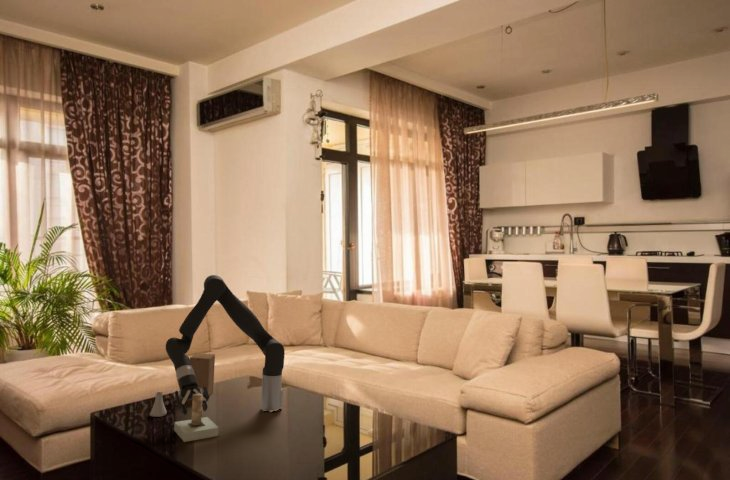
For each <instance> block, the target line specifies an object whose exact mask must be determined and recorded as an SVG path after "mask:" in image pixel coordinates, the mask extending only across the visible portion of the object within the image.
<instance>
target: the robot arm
mask: <svg viewBox="0 0 730 480" xmlns="http://www.w3.org/2000/svg"><path fill="white" fill-rule="evenodd" d="M216 302H218V303H219V304H220V305H221V306H222V308H223V309H224V311H225V312H226V314H227V315H228V316H229V318H230V319H231V321H232V322H233V323H234V324H235V325H236V326H237V328H239V329H240V330H241V332H242V333H244V334H245V335H247V336H248V337H249V338H250V339H251V340H252V341H253V342H254V343H255V344H256V345H257V347H258V348H259V349H260V350H261V351H260V352H262V354H263V355H264V356H265V357H264V358H265V359H264V367H262V376H261V377H262V378H261V381H262V382H261V399H260V400H261V401H260V410H261V409H262V410H266V411H270V410H275V409H278V408H280V407H282V408H283V397H284V396H283V395H284V390H283V389H282V385H283V383H282V378H283V370H284V367H285V365H284V364H285V347H284V345H283V344H282V342H280V341H278V340H277V339H276V338H274V337H273V336H272V335H271V334H270V333H269V332H268V331H267V330H266V329H265V328H264V327H263V325H262V323H261V322H260V320H259V318H258V317H257V316H256V315H255V314H254V313H253V311H252V310H251V309H250V308H249V307H248V306H247V305H246V304H245V303H244V302H243V301H242V300H240V298H238V297H237V296H236V295H235V294H234V293H233V292H232V290H231V289H230V288H229V287H228V285H227V284H226V282H225V281H224V279H223V278H222V277H220V276H219V275H215V274H212V275H208V276H207V277H206V278H205V280H204V281H203V291H202V294H201V295H200V298H199V299H198V301H197V302H196V304H195V305H194V307H193V308H192V309H191V310H190V312H189V313H188V314H187V316H186V317H185V319H184V320H183V322H182V323H181V325H180V327H179V329H178V332H179V333H180V334H181V335H182V336H181V338H178V337H170V338H168V339H167V341H166V343H165V351H166V354H167V355H168V357H169V359H170V361H171V362H172V364H173V367H174V370H175V375H176V381H177V384H178V388H179V391H178V390H175V391H174V393H173V400H174V404H175V407H180V409H181V413H182V414H183V415H184V416H185V415H187V414H188V410H187V406H186V404H185V403H186V401H187V402H188V401H192V399H193V394H200V393H199V392H201V393H203V396H204V397H203V398H202V412H206V411H207V410H208V404H207V402H208V401H209V399H210V396H209V394H208V391H207V389H206V387H203V388H201V389H200V388H199V387H198V384H197V380H196V377H195V373H194V370H193V368H192V365H191V362H190V357H189V356H188V355H187V353H188V352H189V351H190V348H191V345H192V341H193V339H194V336H195V334H196V332H197V331H198V329H199V328H200V326H201V324H202V323H203V320H204V319H205V317H206V316H207V315H208V312H210V311H209V310H211V308H212V307H213V305H214V304H215V303H216ZM180 396H181V397H182V401H180ZM262 410H261V411H262Z"/></svg>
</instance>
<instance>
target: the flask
mask: <svg viewBox="0 0 730 480" xmlns="http://www.w3.org/2000/svg"><path fill="white" fill-rule="evenodd" d="M163 394H164V392H163V391H157V392H155V399H154V402H153V406H152V408H151V411H150V412H149V416H150V417H153V418H155V417H156V418H157V417H158V418H159V417H160V418H161V417H164V416H166V415H167V413H168V411H167V409H166V407H165V403H164V401H163V400H164V399H163Z"/></svg>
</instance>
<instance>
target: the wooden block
mask: <svg viewBox="0 0 730 480" xmlns="http://www.w3.org/2000/svg"><path fill="white" fill-rule="evenodd" d="M189 359H190V362H191V365H192V368H193V370H194V373H195V377H196V380H197V384H198V387H199V388H200V389H201V388H203V387H206V389H207V391H208V394H209V397H210V396H211V395H212V394H213V393H214V387H215V386H214V385H215V382H214V381H215V361H216V354H215V353H201V352H200V353H198V352H197V353H195V354H194V355H192V356H190V357H189ZM199 393H200V394H202V395H203V393H201V392H199ZM203 397H204V396H203Z"/></svg>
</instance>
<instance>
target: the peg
mask: <svg viewBox="0 0 730 480" xmlns="http://www.w3.org/2000/svg"><path fill="white" fill-rule="evenodd" d="M202 398H203V395H202V394H193V399H192V400H191V401H192V402H191V419H192V420H191V419H190V420H191V426H192V428H196V427H200V426H201V424H202V423H201V419H202V418H203V416H202V415H203V407H202Z"/></svg>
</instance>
